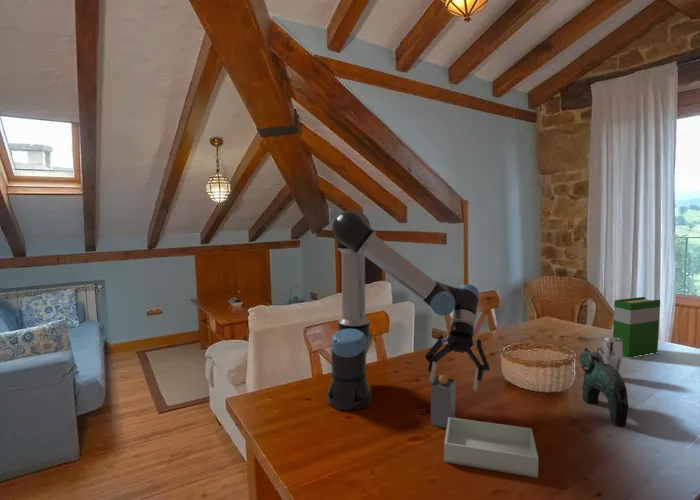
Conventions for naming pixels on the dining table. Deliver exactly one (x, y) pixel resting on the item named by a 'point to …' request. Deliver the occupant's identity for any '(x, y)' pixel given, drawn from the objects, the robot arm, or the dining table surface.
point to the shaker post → (442, 402)
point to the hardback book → (637, 325)
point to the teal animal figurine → (604, 385)
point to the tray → (491, 446)
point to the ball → (443, 379)
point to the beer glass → (612, 351)
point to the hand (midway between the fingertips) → (452, 386)
